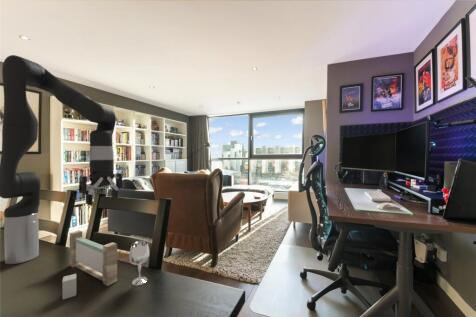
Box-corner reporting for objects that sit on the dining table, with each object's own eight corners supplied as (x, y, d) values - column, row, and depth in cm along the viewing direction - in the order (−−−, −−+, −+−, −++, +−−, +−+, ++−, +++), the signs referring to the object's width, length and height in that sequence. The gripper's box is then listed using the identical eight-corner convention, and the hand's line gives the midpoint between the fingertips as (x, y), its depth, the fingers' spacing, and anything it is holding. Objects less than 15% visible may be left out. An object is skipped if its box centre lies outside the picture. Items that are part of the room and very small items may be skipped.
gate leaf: (110, 273, 69) (110, 248, 69) (104, 276, 67) (104, 250, 67) (81, 259, 78) (81, 237, 78) (75, 262, 76) (75, 238, 76)
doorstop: (76, 290, 63) (76, 273, 63) (76, 295, 61) (75, 278, 61) (63, 293, 62) (63, 276, 61) (62, 299, 59) (62, 281, 59)
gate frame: (69, 265, 77) (69, 232, 77) (79, 262, 80) (79, 230, 79) (107, 286, 65) (107, 247, 65) (117, 280, 68) (117, 243, 68)
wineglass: (141, 287, 65) (141, 248, 64) (125, 285, 66) (125, 247, 65) (153, 277, 70) (153, 241, 70) (137, 275, 71) (137, 239, 71)
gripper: (115, 158, 87) (115, 198, 87) (74, 159, 74) (75, 205, 74) (126, 158, 83) (127, 199, 83) (85, 159, 70) (86, 207, 71)
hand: (102, 202), depth 79 cm, fingers open, 8 cm apart
